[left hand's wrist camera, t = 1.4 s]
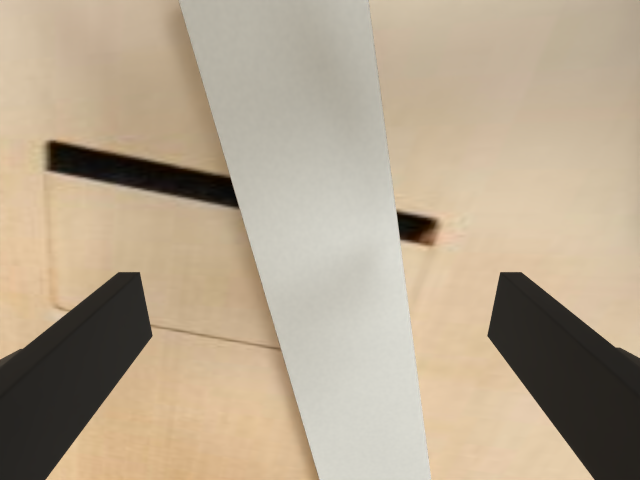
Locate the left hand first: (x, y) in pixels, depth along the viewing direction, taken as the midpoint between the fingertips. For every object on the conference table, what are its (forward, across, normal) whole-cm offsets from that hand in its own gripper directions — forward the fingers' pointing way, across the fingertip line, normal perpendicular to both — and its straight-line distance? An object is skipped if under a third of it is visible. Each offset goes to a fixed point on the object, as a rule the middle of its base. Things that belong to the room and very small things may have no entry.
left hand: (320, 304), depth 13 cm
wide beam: (+17, +5, -26) cm, 31 cm away
